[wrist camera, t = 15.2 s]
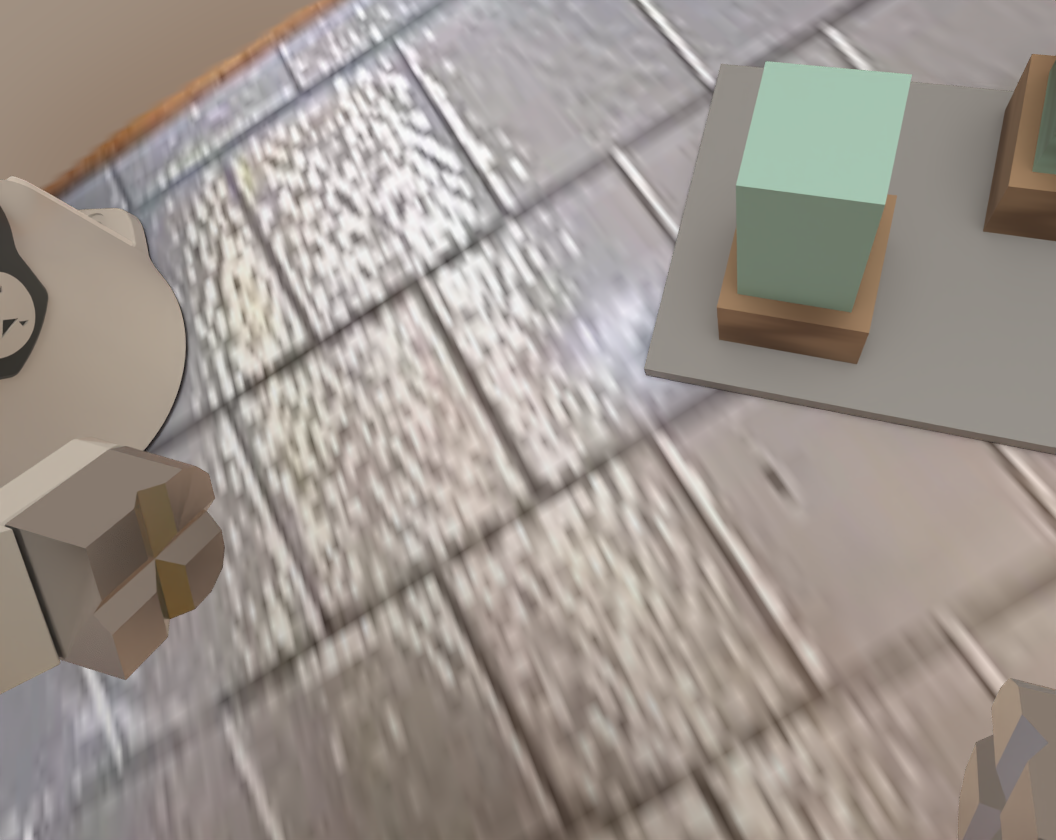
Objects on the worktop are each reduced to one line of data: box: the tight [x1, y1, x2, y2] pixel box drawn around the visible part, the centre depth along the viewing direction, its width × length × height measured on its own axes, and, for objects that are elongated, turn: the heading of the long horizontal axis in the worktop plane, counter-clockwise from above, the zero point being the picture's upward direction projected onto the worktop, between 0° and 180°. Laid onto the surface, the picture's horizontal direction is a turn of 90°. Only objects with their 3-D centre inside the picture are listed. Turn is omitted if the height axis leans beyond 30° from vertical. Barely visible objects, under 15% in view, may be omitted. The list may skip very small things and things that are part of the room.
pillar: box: [736, 61, 912, 312], centre depth 32 cm, size 4×4×9 cm
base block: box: [717, 194, 897, 364], centre depth 39 cm, size 6×6×4 cm
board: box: [644, 64, 1056, 455], centre depth 40 cm, size 20×16×1 cm
